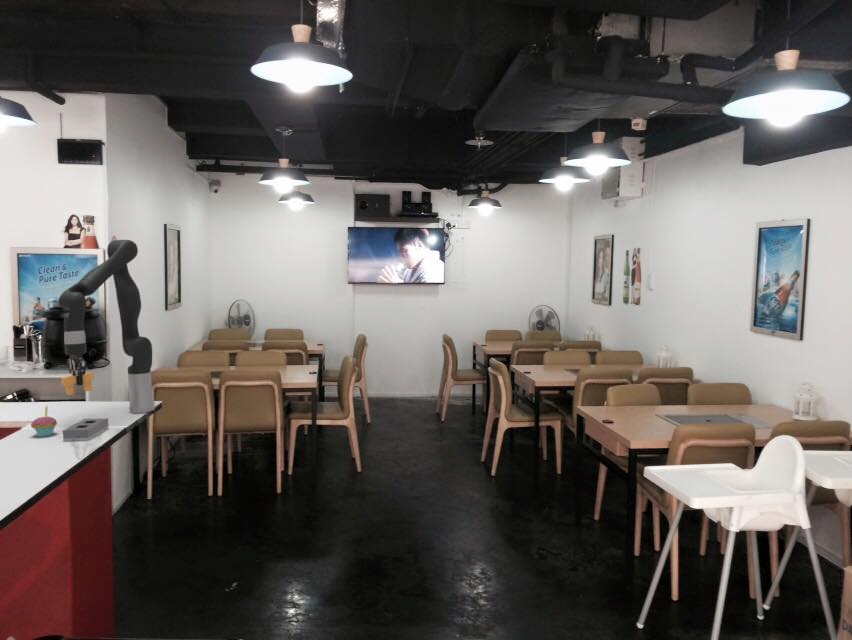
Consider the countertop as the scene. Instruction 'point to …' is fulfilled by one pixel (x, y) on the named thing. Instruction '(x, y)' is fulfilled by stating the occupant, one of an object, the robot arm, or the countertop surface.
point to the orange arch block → (71, 380)
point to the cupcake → (44, 425)
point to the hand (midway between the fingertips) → (78, 384)
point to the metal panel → (85, 429)
